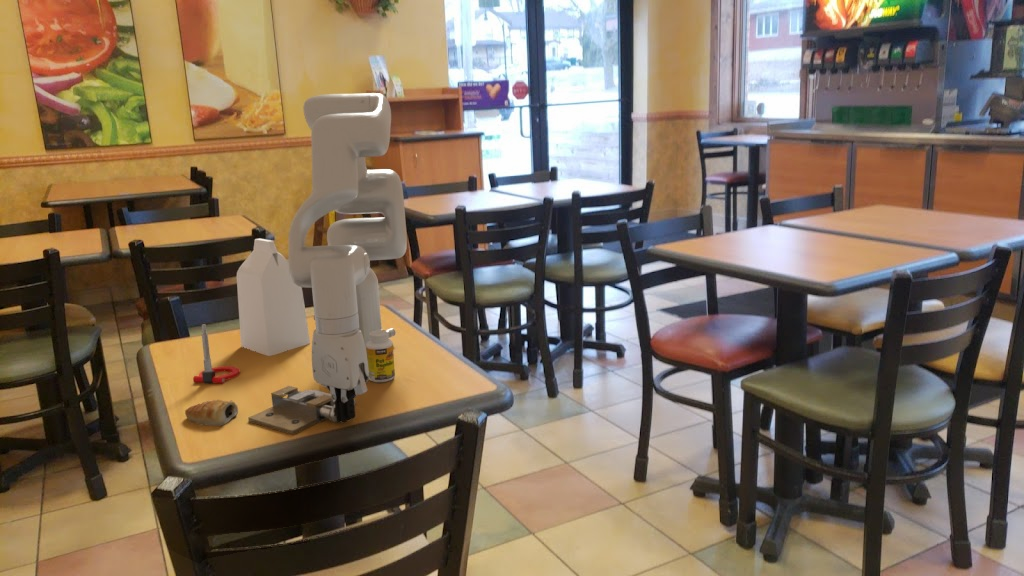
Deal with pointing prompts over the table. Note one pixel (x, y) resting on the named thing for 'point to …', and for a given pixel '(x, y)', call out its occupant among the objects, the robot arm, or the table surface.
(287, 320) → the milk
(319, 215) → the robot arm
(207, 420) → the pastry
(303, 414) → the hinge leaves
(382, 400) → the table surface
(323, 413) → the pin
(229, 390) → the table surface
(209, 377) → the tow hook
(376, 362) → the supplement bottle
